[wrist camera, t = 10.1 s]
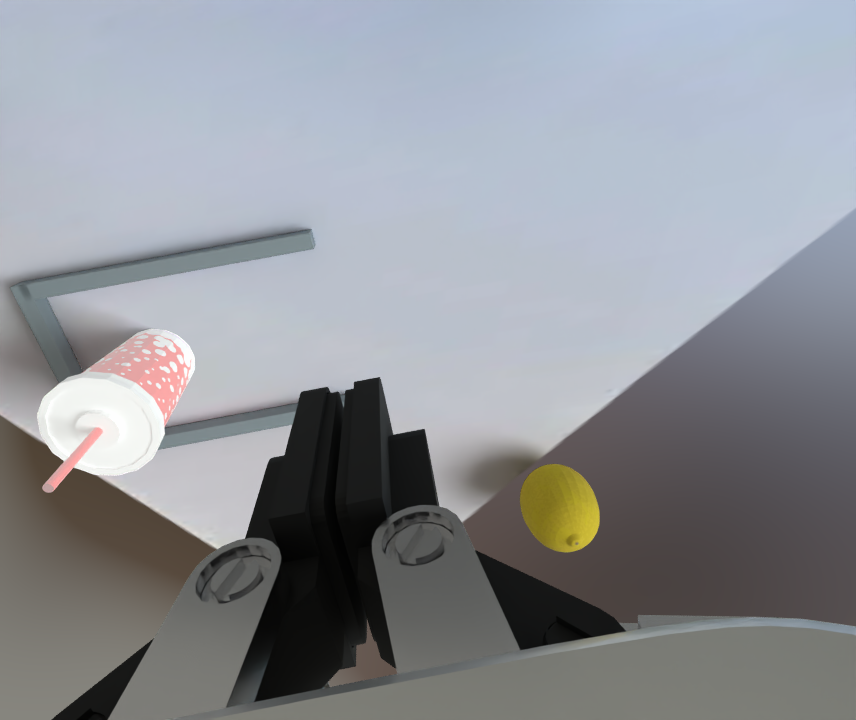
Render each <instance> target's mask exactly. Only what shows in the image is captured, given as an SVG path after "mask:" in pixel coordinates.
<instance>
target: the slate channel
mask: <svg viewBox="0 0 856 720" xmlns="http://www.w3.org/2000/svg"><path fill="white" fill-rule="evenodd" d="M314 247H315V241H314V237H313V233H312V229H311V230H305V231H300V232H294V233H289V234H283V235H278V236H272V237H267V238H261V239H256V240H250V241H245V242H239V243H234V244H228V245H223V246H217V247H212V248H206V249H201V250H195V251H189V252H184V253H178V254H173V255H167V256H162V257H156V258H151V259H145V260H140V261H134V262H129V263H123V264H118V265H112V266H107V267H101V268H96V269H90V270H85V271H79V272H74V273H68V274H63V275H57V276H52V277H46V278H41V279H35V280H30V281H24V282H20V283H18V284H16V285H14V286H12V287H10V289H11V291H12V293H13V295H14V297H15V299H16V301H17V303H18V305H19V306H20V308H21V310H22V312H23V314H24V316H25V318H26V320H27V322H28V324H29V326H30V328H31V330H32V332H33V334H34V336H35V338H36V340H37V341H38V343H39V345H40V347H41V349H42V351H43V353H44V355H45V357H46V359H47V361H48V363H49V365H50V367H51V369H52V371H53V373H54V374H55V376H56V378H57V380H58V382H59V383H61V382H62V381H64V380H65V379H66V378H67V377H71V376H74V375H78V374H81V373H83V372H82V370H81V368H80V366H79V363H78V361H77V359H76V357H75V355H74V353H73V351H72V349H71V347H70V345H69V343H68V341H67V339H66V337H65V335H64V333H63V331H62V329H61V327H60V325H59V323H58V320H57V318H56V316H55V314H54V312H53V310H52V308H51V306H50V304H49V302H48V300H47V297H53V296H58V295H64V294H69V293H74V292H80V291H85V290H91V289H96V288H102V287H107V286H113V285H118V284H124V283H129V282H135V281H140V280H146V279H151V278H157V277H162V276H168V275H173V274H179V273H184V272H190V271H195V270H201V269H206V268H212V267H217V266H223V265H228V264H234V263H239V262H245V261H250V260H256V259H261V258H267V257H272V256H278V255H283V254H289V253H294V252H300V251H305V250H311V249H314ZM340 396H341V400H342V404H343V407H344V400H345V394H344V395H340ZM297 405H298V403H296V404H291V405H285V406H280V407H275V408H269V409H264V410H259V411H253V412H248V413H243V414H237V415H232V416H227V417H221V418H216V419H211V420H205V421H200V422H195V423H189V424H184V425H179V426H173V427H168V428H164V430H165V435H164V437H163V439H162V441H161V443H160V446H159V448H158V450H160V449H165V448H171V447H176V446H181V445H186V444H192V443H197V442H202V441H208V440H213V439H218V438H224V437H229V436H234V435H239V434H245V433H250V432H255V431H261V430H266V429H271V428H277V427H282V426H287V425H293V421H294V417H295V413H296V409H297Z"/></svg>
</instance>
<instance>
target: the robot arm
mask: <svg viewBox="0 0 856 720" xmlns="http://www.w3.org/2000/svg"><path fill="white" fill-rule="evenodd" d="M367 620H368V623H369V626H370V630H371V633H372V636H373V639H374V641H376V642H377V646H378V649H379V652H380V656H381V658H382V659H383V660H385V661H386V662H387V663H389V664H390V665H392V666H393V667H394V668H396V669H397V674H395V675H390V676H385V677H380V678H374V679H369V680H365V681H359V682H354V683H349V684H344V685H339V686H334V687H330V686H329V683H328V681H329V680H330V679H331V678H332V677H333V675H334V674H336V672H337V671H338V670H339V669H345V668H350V667H355V666H356V645H359V644H364V643H366V638H367ZM52 720H856V627H855V626H848V625H841V624H834V623H827V622H820V621H813V620H806V619H791V618H779V617H725V616H722V617H721V616H720V617H719V616H657V615H638V623H637V624H636V623H618V622H617V620H615V618H614V617H612V616H610V615H609V614H607V613H606V612H604V611H602V610H601V609H599V608H597V607H595V606H593V605H591V604H589V603H587V602H584V601H582V600H580V599H578V598H576V597H574V596H572V595H570V594H567V593H565V592H563V591H561V590H559V589H557V588H554V587H553V586H550V585H548V584H546V583H544V582H542V581H540V580H538V579H536V578H533V577H531V576H529V575H527V574H525V573H523V572H521V571H519V570H516V569H514V568H512V567H510V566H508V565H506V564H504V563H502V562H499V561H497V560H495V559H493V558H490V557H489V556H487V555H485V554H482V553H480V552H478V551H476V550H474V547H473V545H472V543H471V541H470V539H469V536H468V534H467V532H466V530H465V528H464V526H463V523H462V522H461V521H460V519H459V518H458V517H457V515H456V514H454V513H453V512H451V511H449V510H448V509H446V508H442V507H439V503H438V497H437V492H436V486H435V481H434V475H433V470H432V465H431V459H430V454H429V449H428V444H427V439H426V434H425V429H421V430H416V431H411V432H406V433H400V434H395V435H393V432H392V427H391V423H390V418H389V414H388V409H387V405H386V400H385V396H384V391H383V387H382V383H381V379H380V377H378V378H373V379H367V380H362V381H357V382H354V389H350V390H346V391H345V400H344V407H343V404H342V400H341V396H340V394H339V392H334V393H330V390H329V388H328V387H325V388H319V389H314V390H309V391H303V392H301V394H300V398H299V402H298V405H297V409H296V413H295V417H294V421H293V425H292V428H291V432H290V436H289V440H288V444H287V448H286V452H285V455H284V456H279V457H274V458H271V459H270V460H269V462H268V465H267V468H266V471H265V474H264V478H263V481H262V484H261V488H260V491H259V494H258V498H257V501H256V504H255V508H254V511H253V514H252V518H251V521H250V524H249V527H248V531H247V534H246V537H245V539H242V540H237V541H234V542H232V543H229V544H227V545H224V546H222V547H221V548H219V549H217V550H216V551H214V552H213V553H211V554H210V555H208V556H207V557H206V558H205V559H204V560H203V561H202V562H201V563H199V564H198V565H197V567H196V568H195V569H194V571H193V572H192V574H191V575H190V576H189V578H188V580H187V581H186V583H185V585H184V587H183V588H182V590H181V592H180V594H179V596H178V597H177V599H176V601H175V603H174V604H173V606H172V608H171V610H170V611H169V613H168V615H167V617H166V618H165V620H164V622H163V624H162V626H161V627H160V629H159V631H158V632H157V634H156V636H155V638H154V639H153V640H151V641H150V642H149V643H147V644H146V645H145V646H144V647H143V648H141V649H140V650H139V651H137V652H136V653H135V654H133V655H132V656H131V657H130V658H128V659H127V660H126V661H125V662H124V663H122V664H121V665H120V666H118V667H117V668H116V669H115V670H113V671H112V672H111V673H109V674H108V675H107V676H106V677H104V678H103V679H102V680H101V681H99V682H98V683H97V684H96V685H94V686H93V687H92V688H90V689H89V690H88V691H87V692H85V693H84V694H83V695H82V696H80V697H79V698H78V699H77V700H75V701H74V702H73V703H72V704H70V705H69V706H68V707H67V708H65V709H64V710H63V711H61V712H60V713H59V714H58V715H56V716H55V717H54V718H53V719H52Z"/></svg>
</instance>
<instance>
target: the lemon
mask: <svg viewBox="0 0 856 720" xmlns="http://www.w3.org/2000/svg"><path fill="white" fill-rule="evenodd" d="M520 506H521V510H522V514H523V518H524V520H525V522H526V524H527V526H528V527H529V529H530V531H531V532H532V534H533V535H534V536H535V537H536V538H537V539H538V540H539V541H540V542H541V543H542V544H543V545H545V546H546V547H548V548H551V549H553V550H555V551H560V552H572V551H577V550H579V549H581V548H583V547H585V546H586V545H588V543H590V542H591V541H592V539H593V537H594V536H595V535H596V533H597V530H598V527H599V508H598V504H597V501H596V498H595V495H594V493H593V490H592V489H591V487H590V486H589V484H588V483H587V482H586V480H585V479H584V478H583V477H582V476H581V475H580V474H579V473H577V472H576V471H575V470H573V469H571V468H569V467H567V466H564V465H559V464H549V465H544V466H541V467H539V468H537V469H535V470H534V471H533V472H532V473H530V474H529V475H528V477H527V478H526V479H525V481H524V483H523V486H522V488H521V493H520Z"/></svg>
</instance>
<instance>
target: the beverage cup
mask: <svg viewBox="0 0 856 720" xmlns="http://www.w3.org/2000/svg"><path fill="white" fill-rule="evenodd" d="M194 370H195V357H194V355H193V353H192V351H191V348H190V346H189V345H188V344H187V343H186V342H185V341H184V340H183V339H182V338H181V337H179V336H178V335H176V334H174V333H171V332H169V331H167V330H161V329H148V330H144V331H141V332H138V333H137V334H135V335H134V336H132V337H131V338H130V339H128V340H127V341H125V342H124V343H123V344H121V345H120V346H119V347H117V348H116V349H114V350H113V351H112V352H110V353H109V354H107V355H106V356H105V357H103V358H102V359H101V360H99V361H98V362H96V363H95V364H94V365H92V366H91V367H89V368H88V369H87V370H85V371H84V372H83V373H81V374H78V375H74V376H71V377H67V378H66V379H65V380H64V381H62V382H61V383H59V384H58V385H57V386H56V387H55V388H53V389H52V390H51V391H50V392H49V393H48V394H46V395H45V396H44V397H43V399H42V402H41V405H40V408H39V411H38V413H37V419H38V424H39V430H40V435H41V436H42V438H43V439H44V441H45V442H46V444H47V445H48V447H49V448H50V449H51V451H52V452H53V453H54V454H55V455H57V456H58V457H59V458H61V459H62V460H64V461H65V462H64V463H63V464H62V465H61V466H60V467H59V468H58V469H57V471H56V472H55V473H54V474H53V475H52V476H51V477H50V478H49V480H48V481H47V482H46V483H45V484H44V485H43V490H44V491H45V492H53V491H54V490H55V488H56V487H57V486H58V485H59V483H60V482H61V481H62V480H63V479H64V478H65V477H66V475H67V474H68V473H69V472H70V471H71V470H72V468H73V467H74V468H77V469H80V470H83V471H86V472H88V473H91V474H94V475H113V476H118V475H122V474H125V473H129V472H133V471H136V470H138V469H140V468H141V467H142V466H144V465H145V464H146V463H147V462H149V461H150V460H151V459H153V457H154V456H155V454H156V451H157V450H158V448H159V446H160V443H161V441H162V439H163V437H164V435H165V430H164V427H165V425H166V423H167V422H168V420H169V418H170V416H171V414H172V412H173V410H174V408H175V407H176V405H177V403H178V401H179V399H180V397H181V395H182V393H183V392H184V390H185V388H186V386H187V384H188V382H189V380H190V378H191V376H192V374H193V372H194Z"/></svg>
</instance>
